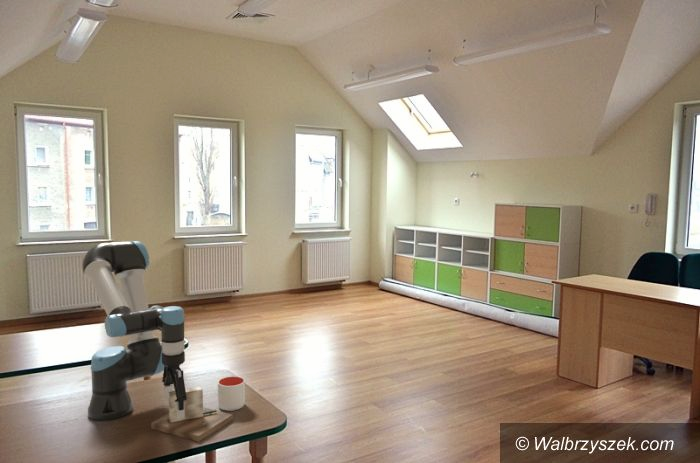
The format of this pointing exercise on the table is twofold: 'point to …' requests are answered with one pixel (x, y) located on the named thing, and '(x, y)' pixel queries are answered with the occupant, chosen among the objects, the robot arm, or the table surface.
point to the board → (193, 425)
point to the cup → (231, 393)
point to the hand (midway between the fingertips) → (174, 410)
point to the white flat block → (188, 404)
